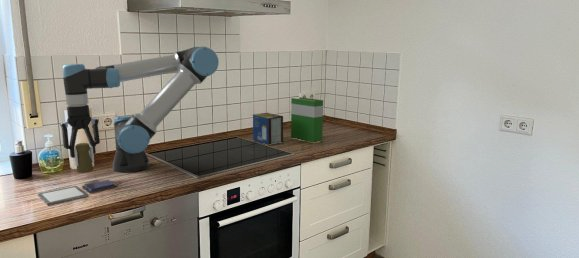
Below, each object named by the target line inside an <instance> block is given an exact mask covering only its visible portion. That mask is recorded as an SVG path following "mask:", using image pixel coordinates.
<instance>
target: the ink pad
mask: <svg viewBox="0 0 579 258" xmlns="http://www.w3.org/2000/svg"><path fill="white" fill-rule="evenodd" d="M81 187H82V190H84V191H85V192H87V193H88V194H93V193H97V192H102V191H105V190H111V189H115V188H118V184H116V183H114V182H113V181H111V180H110V179H106V180H101V181H96V182H90V183H86V184H84V185H82V186H81Z"/></svg>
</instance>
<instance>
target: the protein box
mask: <svg viewBox="0 0 579 258" xmlns="http://www.w3.org/2000/svg"><path fill="white" fill-rule="evenodd" d="M253 140H255V141H258V142H257V143H259V142H261V143H260V144H262V143H265V144H268V145H269V144H274V143H279V142H283V143H284V115H279V114H274V113H270V112H262V113H253V114H252V141H253ZM255 141H254V142H255ZM265 144H264V145H265ZM268 145H267V146H268ZM269 146H270V145H269Z"/></svg>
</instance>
